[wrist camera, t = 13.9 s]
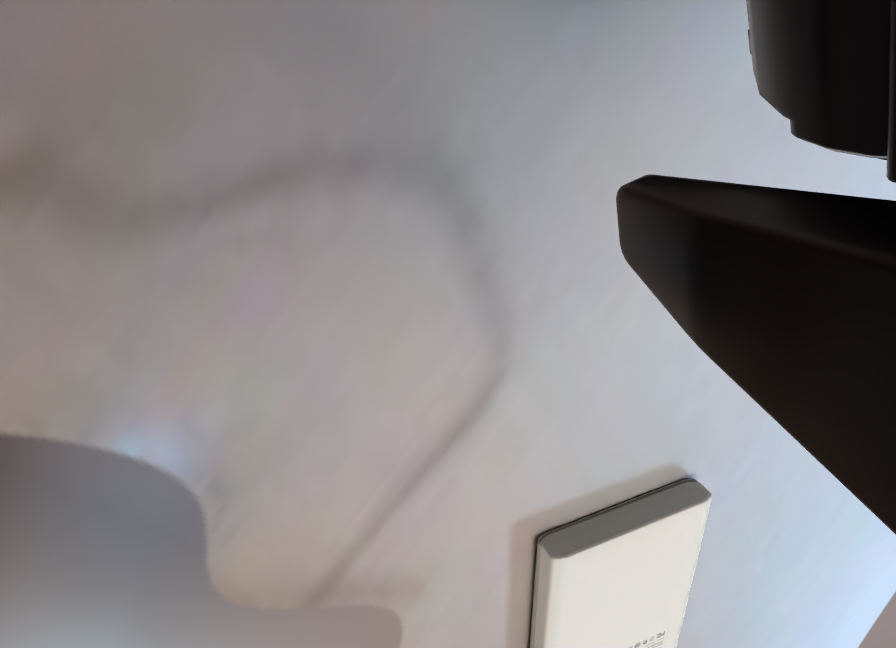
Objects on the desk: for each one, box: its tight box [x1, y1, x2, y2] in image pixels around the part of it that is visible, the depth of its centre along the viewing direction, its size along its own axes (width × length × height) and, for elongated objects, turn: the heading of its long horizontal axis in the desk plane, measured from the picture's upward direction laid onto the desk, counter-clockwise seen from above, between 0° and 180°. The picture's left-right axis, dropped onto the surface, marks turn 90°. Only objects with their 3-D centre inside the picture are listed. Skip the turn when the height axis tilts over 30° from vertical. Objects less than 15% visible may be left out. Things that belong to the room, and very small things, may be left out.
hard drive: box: [530, 479, 712, 648], centre depth 39 cm, size 2×8×12 cm
